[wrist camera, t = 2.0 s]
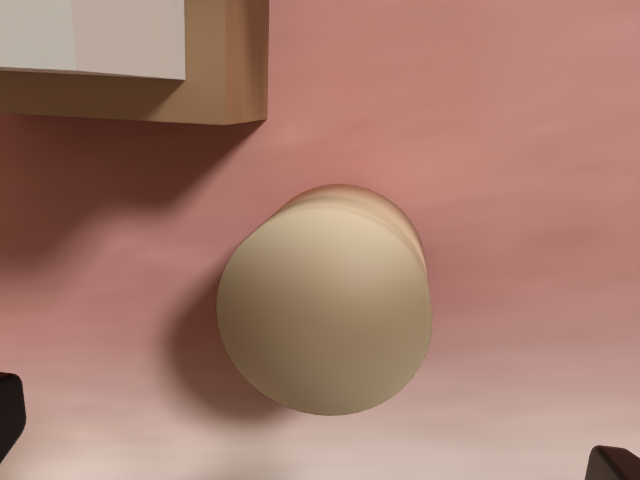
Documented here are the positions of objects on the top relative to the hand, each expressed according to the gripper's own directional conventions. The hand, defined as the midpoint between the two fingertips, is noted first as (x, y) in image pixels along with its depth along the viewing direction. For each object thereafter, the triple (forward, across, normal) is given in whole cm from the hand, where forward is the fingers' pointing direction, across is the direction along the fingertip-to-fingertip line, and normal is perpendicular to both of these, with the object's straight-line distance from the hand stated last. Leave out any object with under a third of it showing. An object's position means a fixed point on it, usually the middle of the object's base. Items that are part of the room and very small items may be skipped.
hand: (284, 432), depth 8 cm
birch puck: (+8, 0, 0) cm, 8 cm away
